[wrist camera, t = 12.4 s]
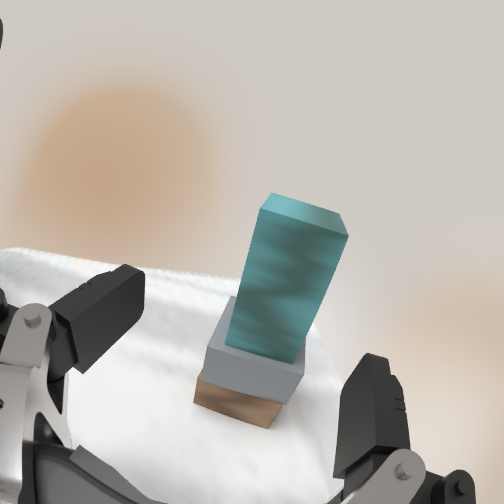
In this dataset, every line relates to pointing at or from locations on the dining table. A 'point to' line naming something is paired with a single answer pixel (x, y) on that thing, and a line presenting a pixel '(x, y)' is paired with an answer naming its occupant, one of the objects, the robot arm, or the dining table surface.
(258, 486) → the dining table surface
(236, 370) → the grey slab
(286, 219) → the teal pillar
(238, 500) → the dining table surface
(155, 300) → the dining table surface
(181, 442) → the dining table surface
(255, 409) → the walnut slab
